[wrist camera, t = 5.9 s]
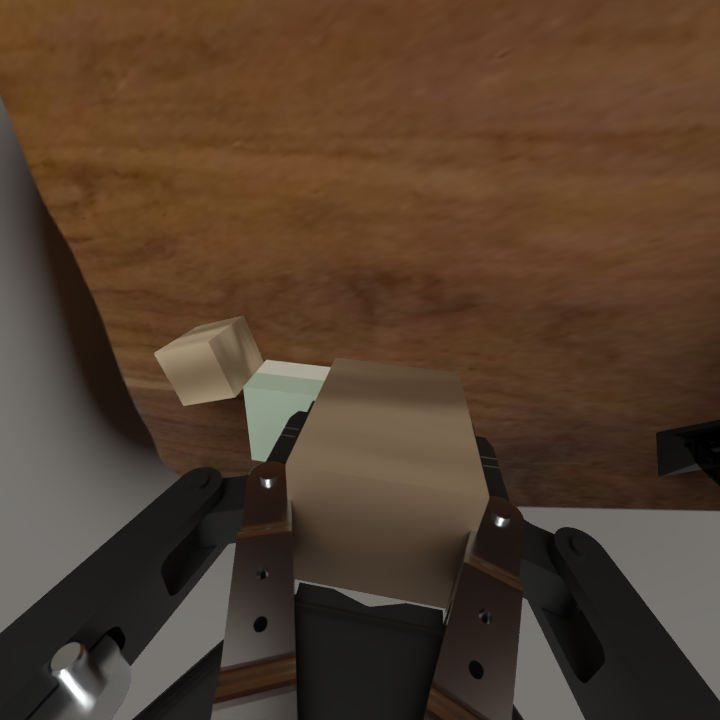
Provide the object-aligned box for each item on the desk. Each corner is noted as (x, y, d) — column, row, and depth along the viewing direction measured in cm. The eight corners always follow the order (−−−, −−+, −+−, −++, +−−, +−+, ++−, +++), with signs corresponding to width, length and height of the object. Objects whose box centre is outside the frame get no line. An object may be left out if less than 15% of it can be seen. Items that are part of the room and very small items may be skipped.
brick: (197, 326, 31) (153, 353, 26) (243, 315, 30) (208, 341, 25) (220, 371, 33) (183, 405, 28) (264, 363, 32) (235, 397, 27)
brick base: (266, 360, 32) (243, 386, 27) (348, 369, 31) (338, 398, 26) (271, 426, 35) (252, 459, 31) (345, 436, 35) (336, 471, 30)
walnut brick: (335, 357, 14) (285, 464, 8) (459, 373, 13) (489, 497, 8) (332, 449, 16) (291, 578, 11) (437, 465, 15) (449, 609, 10)
